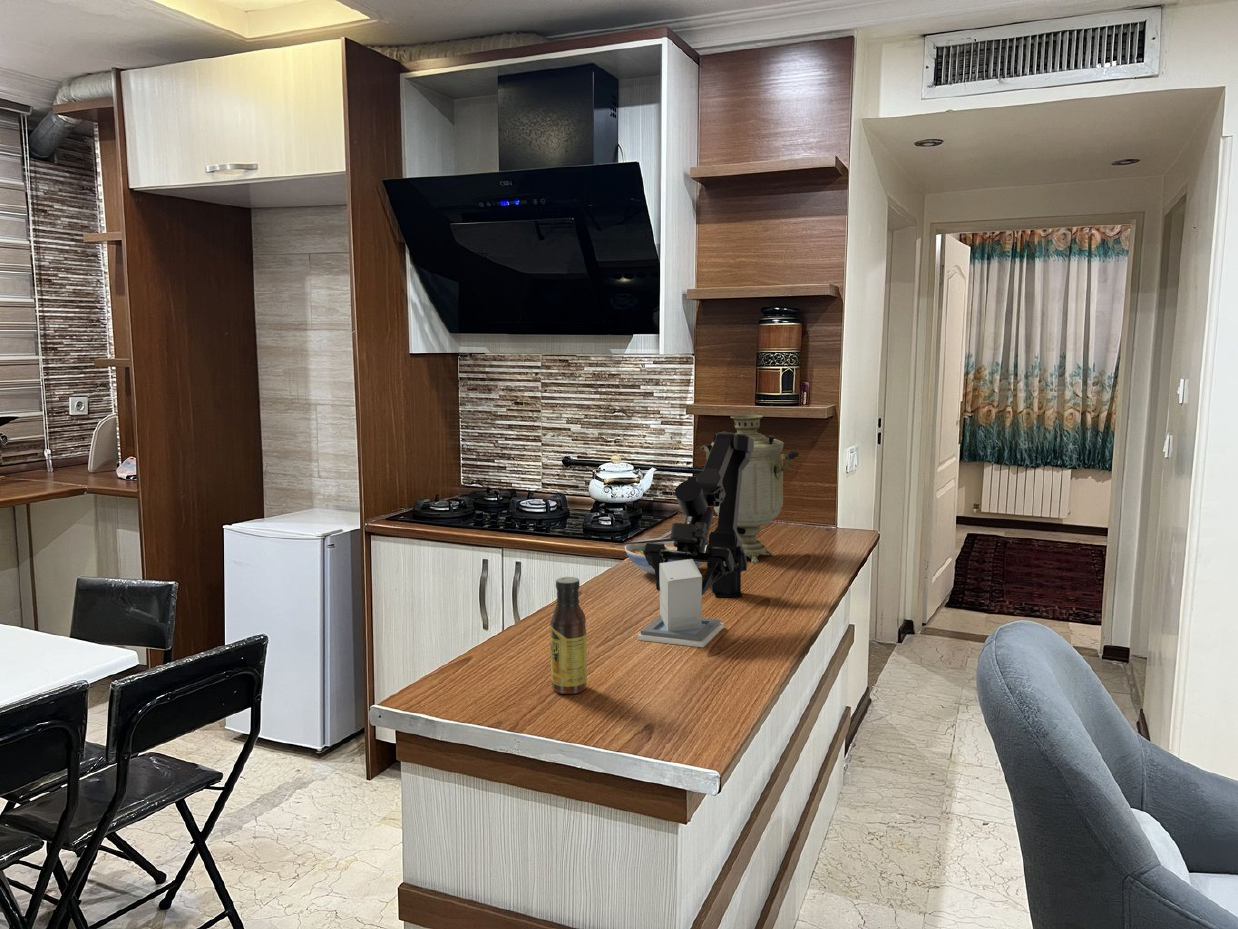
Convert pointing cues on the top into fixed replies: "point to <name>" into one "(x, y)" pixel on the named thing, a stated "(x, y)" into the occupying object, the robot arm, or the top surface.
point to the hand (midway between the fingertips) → (679, 591)
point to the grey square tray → (681, 633)
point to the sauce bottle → (568, 640)
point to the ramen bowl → (639, 558)
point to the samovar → (758, 484)
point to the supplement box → (680, 595)
